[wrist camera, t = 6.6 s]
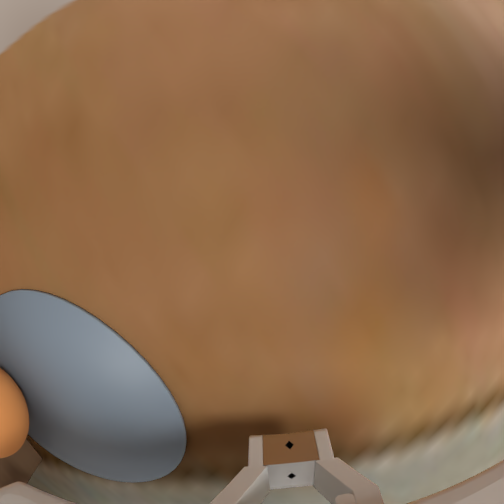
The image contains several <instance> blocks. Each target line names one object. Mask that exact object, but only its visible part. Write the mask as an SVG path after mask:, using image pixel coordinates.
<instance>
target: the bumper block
mask: <svg viewBox="0 0 504 504" xmlns="http://www.w3.org/2000/svg"><path fill="white" fill-rule="evenodd" d="M41 460H42V458H41V457H40V455H39V454H38V453H37V452H36V451H35V449H34V448H33V447H32V446H31V444H30V443H29V442H28V440H27V439H26V440H25V442H24V444H23V445H22V447H21V448H20V449H19V450H18V451H17V452H16V453H14V454H13V455H10V456H8V457H5V458H0V488H2V487H5V486H7V485H9V484H12V483H15V482H24V483H26V484H27V483H28V481H29V479H30V478H31V476H32V474H33V473H34V471H35V470H36V468H37V466H38V465H39V463H40V462H41Z"/></svg>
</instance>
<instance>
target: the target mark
mask: <svg viewBox="0 0 504 504" xmlns="http://www.w3.org/2000/svg"><path fill="white" fill-rule="evenodd" d="M0 368H1V369H3V370H4V371H5V372H6V373H7V374H8V375H9V376H10V377H11V378H12V379H13V380H14V381H15V382H16V384H17V385H18V387H19V388H20V390H21V392H22V394H23V396H24V398H25V401H26V404H27V407H28V412H29V431H28V435H29V436H30V437H31V438H32V439H34V440H35V441H36V442H37V443H38V444H40V445H41V446H42V447H43V448H45V449H46V450H47V451H49V452H50V453H51V454H53V455H54V456H56V457H57V458H59V459H61V460H62V461H64V462H66V463H68V464H69V465H71V466H73V467H75V468H77V469H80V470H82V471H84V472H86V473H89V474H92V475H95V476H98V477H101V478H105V479H109V480H114V481H120V482H146V481H152V480H155V479H159V478H161V477H163V476H165V475H167V474H169V473H170V472H172V471H173V470H174V469H175V468H176V467H177V466H178V465H179V463H180V462H181V460H182V458H183V455H184V453H185V448H186V442H187V440H186V428H185V424H184V420H183V417H182V414H181V412H180V409H179V407H178V405H177V403H176V401H175V399H174V398H173V396H172V394H171V392H170V390H169V389H168V388H167V386H166V385H165V383H164V382H163V381H162V379H161V378H160V376H159V375H158V374H157V373H156V371H155V370H154V369H153V368H152V367H151V366H150V364H149V363H148V362H147V361H146V360H145V359H144V358H143V357H142V356H141V355H140V354H139V353H138V352H137V351H136V350H135V349H134V348H133V347H132V346H131V345H130V344H129V343H128V342H127V341H126V340H125V339H123V338H122V337H121V336H120V335H119V334H118V333H117V332H115V331H114V330H113V329H111V328H110V327H109V326H107V325H106V324H105V323H103V322H102V321H101V320H100V319H98V318H97V317H95V316H93V315H92V314H90V313H89V312H87V311H86V310H84V309H82V308H81V307H79V306H77V305H75V304H73V303H71V302H69V301H67V300H65V299H63V298H60V297H58V296H55V295H52V294H50V293H46V292H42V291H37V290H29V289H20V290H12V291H9V292H7V293H4V294H2V295H0Z"/></svg>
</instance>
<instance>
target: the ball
mask: <svg viewBox="0 0 504 504" xmlns="http://www.w3.org/2000/svg"><path fill="white" fill-rule="evenodd" d="M28 431H29V412H28V407H27V404H26V401H25V398H24V396H23V394H22V392H21V390H20V388H19V387H18V385H17V384H16V382H15V381H14V380H13V379H12V378H11V377H10V376H9V375H8V374H7V373H6V372H5V371H4V370H3V369H1V368H0V458H5V457H8V456H10V455H13V454H14V453H16V452H17V451H18V450H19V449H20V448H21V447H22V445H23V444H24V442H25V440H26V438H27V435H28Z"/></svg>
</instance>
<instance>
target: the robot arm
mask: <svg viewBox="0 0 504 504" xmlns="http://www.w3.org/2000/svg"><path fill="white" fill-rule="evenodd" d="M311 485H313V486H314V487H315V488H316V489H317V490H318V491H319V492H320V493H321V494H322V495H323V496H324V497H325V498H326V499H327V500H328V501H329V502H330V503H331V504H384V502H383V499H382V496H381V493H380V490H379V487H378V486H377V485H376V484H374V483H373V482H372V481H370V480H369V479H367V478H366V477H364V476H363V475H361V474H360V473H359V472H357V471H356V470H354V469H353V468H352V467H350V466H349V465H347V464H346V463H345V462H343V461H342V460H341V459H339V458H338V457H337V458H334V455H333V451H332V447H331V443H330V439H329V435H328V431H327V429H326V428H325V429H318V430H310V431H302V432H294V433H288V434H272V435H250V436H249V451H248V466H247V467H244V468H243V469H242V470H241V471H240V472H239V473H238V474H237V475H236V476H235V477H234V479H233V480H232V481H231V482H230V483H229V484H228V485H227V486H226V487H225V488H224V489H223V490H222V491H221V492H220V493H219V494H218V495H217V496H216V497H215V498H214V499H213V500H212V501H211V502H210V504H261V503H262V502H263V500H264V499H265V497H266V496H267V494H268V493H269V491H270V489H280V488H290V487H301V486H311ZM0 504H77V503H74V502H71V501H68V500H65V499H63V498H60V497H57V496H55V495H52V494H50V493H47V492H45V491H42V490H40V489H38V488H35V487H33V486H31V485H29V484H26V483H24V482H15V483H12V484H9V485H7V486H5V487H2V488H0ZM407 504H504V460H503V461H501V462H499V463H498V464H496V465H494V466H492V467H490V468H488V469H487V470H485V471H483V472H481V473H479V474H477V475H475V476H473V477H471V478H469V479H467V480H465V481H463V482H460V483H458V484H456V485H454V486H452V487H449V488H447V489H445V490H442V491H440V492H437V493H435V494H432V495H429V496H427V497H424V498H421V499H419V500H416V501H413V502H410V503H407Z"/></svg>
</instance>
